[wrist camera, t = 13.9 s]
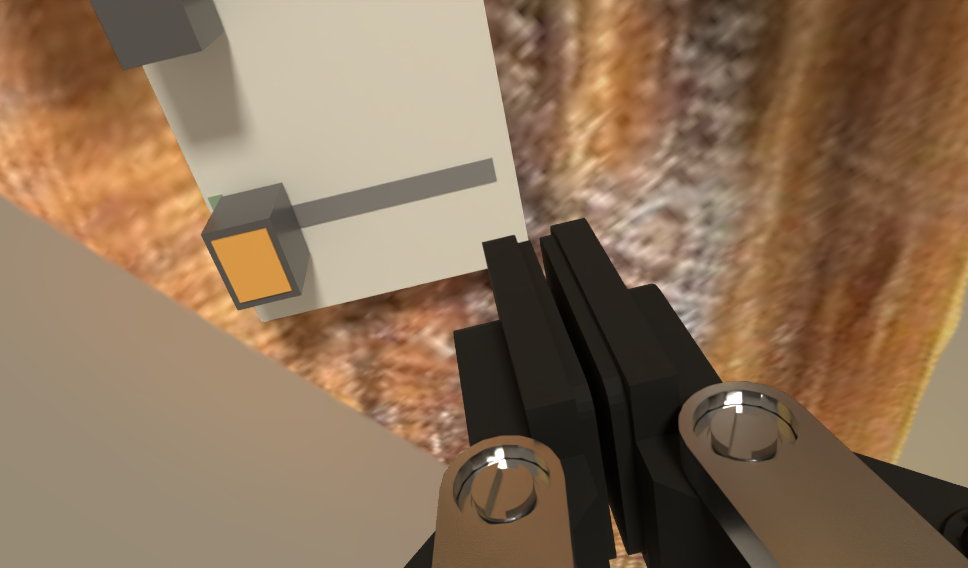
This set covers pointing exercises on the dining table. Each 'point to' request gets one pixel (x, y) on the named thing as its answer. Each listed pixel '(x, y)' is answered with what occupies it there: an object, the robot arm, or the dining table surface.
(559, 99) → the dining table surface
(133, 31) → the breaker handle
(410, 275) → the panel
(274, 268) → the block
